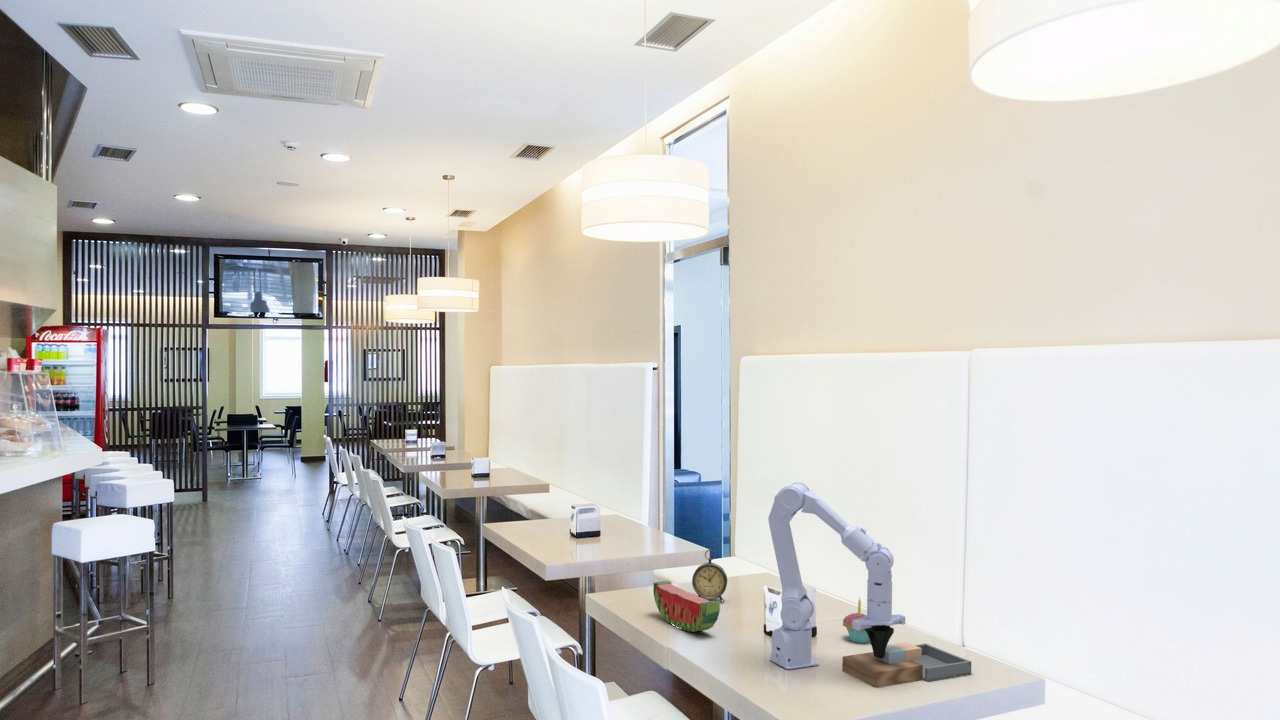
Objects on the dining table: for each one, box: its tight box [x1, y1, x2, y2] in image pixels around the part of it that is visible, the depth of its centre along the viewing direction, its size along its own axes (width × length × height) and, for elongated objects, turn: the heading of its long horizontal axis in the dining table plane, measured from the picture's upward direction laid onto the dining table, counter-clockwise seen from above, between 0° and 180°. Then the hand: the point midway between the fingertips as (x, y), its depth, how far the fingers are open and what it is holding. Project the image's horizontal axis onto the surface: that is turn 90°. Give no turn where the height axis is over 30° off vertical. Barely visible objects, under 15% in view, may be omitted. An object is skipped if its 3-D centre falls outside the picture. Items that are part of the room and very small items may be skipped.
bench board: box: [841, 651, 923, 688], centre depth 198 cm, size 14×12×3 cm
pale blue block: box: [875, 643, 906, 664], centre depth 199 cm, size 5×5×3 cm
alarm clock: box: [691, 549, 728, 601], centre depth 263 cm, size 11×5×16 cm, turn 81°
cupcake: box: [842, 597, 870, 644], centre depth 225 cm, size 9×8×12 cm
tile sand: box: [891, 641, 922, 662], centre depth 201 cm, size 5×5×3 cm
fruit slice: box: [652, 580, 721, 633], centre depth 234 cm, size 26×6×10 cm, turn 31°
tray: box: [912, 643, 972, 682], centre depth 203 cm, size 14×15×3 cm
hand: (878, 657), depth 197 cm, fingers closed
